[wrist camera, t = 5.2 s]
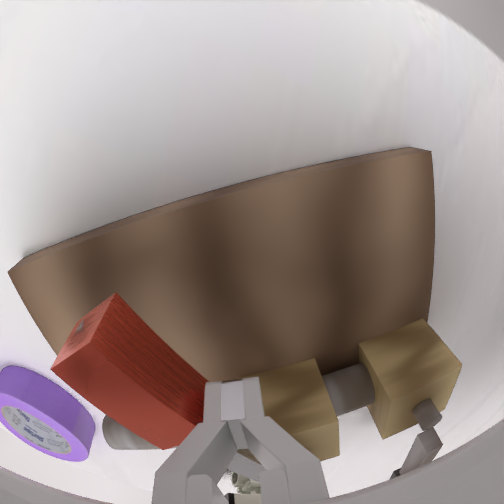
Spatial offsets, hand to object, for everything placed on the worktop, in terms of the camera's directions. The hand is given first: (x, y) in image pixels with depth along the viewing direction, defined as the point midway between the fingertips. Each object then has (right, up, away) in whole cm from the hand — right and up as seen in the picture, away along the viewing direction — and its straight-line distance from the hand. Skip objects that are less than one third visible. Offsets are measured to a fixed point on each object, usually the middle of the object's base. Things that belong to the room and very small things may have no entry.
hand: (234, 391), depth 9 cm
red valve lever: (0, -2, +2) cm, 3 cm away
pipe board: (+1, -5, +11) cm, 12 cm away
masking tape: (-21, -11, +12) cm, 26 cm away
